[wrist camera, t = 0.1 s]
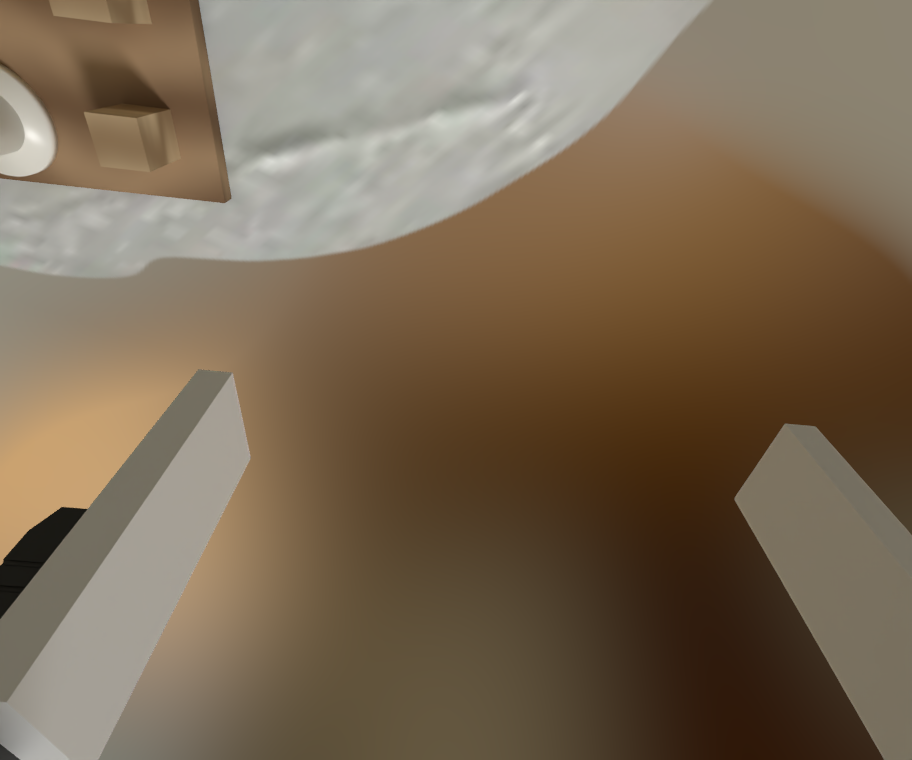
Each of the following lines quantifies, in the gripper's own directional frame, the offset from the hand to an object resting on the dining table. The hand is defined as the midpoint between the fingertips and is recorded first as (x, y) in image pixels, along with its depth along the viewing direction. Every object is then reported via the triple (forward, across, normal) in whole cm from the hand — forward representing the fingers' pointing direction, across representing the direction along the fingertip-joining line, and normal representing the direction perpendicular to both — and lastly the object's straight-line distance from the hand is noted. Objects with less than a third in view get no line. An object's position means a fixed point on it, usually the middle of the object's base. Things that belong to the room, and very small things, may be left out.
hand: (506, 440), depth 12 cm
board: (+28, -28, +2) cm, 40 cm away
